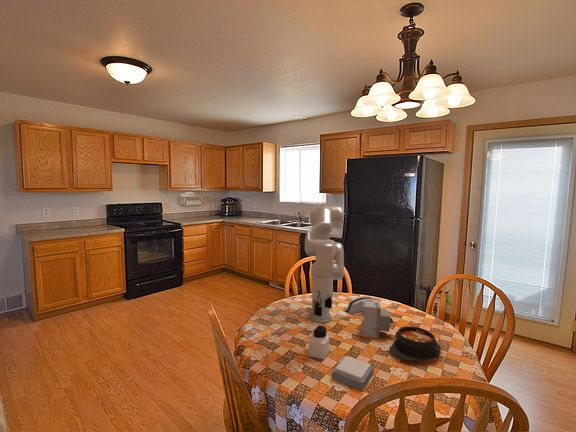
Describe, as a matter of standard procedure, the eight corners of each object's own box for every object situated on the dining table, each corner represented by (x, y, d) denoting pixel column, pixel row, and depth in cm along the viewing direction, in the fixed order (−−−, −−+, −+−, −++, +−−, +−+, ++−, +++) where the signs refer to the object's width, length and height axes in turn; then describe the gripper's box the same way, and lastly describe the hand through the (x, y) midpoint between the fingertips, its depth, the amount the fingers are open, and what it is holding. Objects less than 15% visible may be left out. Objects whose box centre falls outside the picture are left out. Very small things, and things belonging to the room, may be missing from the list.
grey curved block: (367, 306, 182) (371, 293, 178) (371, 311, 178) (376, 298, 174) (344, 310, 175) (348, 297, 171) (348, 316, 171) (352, 302, 167)
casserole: (414, 335, 146) (415, 319, 146) (451, 354, 131) (453, 335, 130) (378, 349, 133) (379, 331, 132) (415, 372, 118) (417, 351, 117)
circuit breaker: (392, 339, 142) (394, 309, 141) (361, 336, 145) (363, 306, 144) (390, 332, 150) (392, 303, 148) (361, 329, 153) (362, 300, 151)
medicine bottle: (329, 351, 131) (329, 325, 130) (324, 360, 125) (324, 332, 124) (313, 347, 134) (314, 322, 133) (307, 356, 128) (308, 329, 126)
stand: (331, 378, 113) (332, 368, 112) (344, 363, 123) (344, 353, 122) (362, 390, 106) (363, 380, 106) (373, 373, 116) (374, 363, 116)
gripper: (325, 266, 135) (324, 303, 137) (306, 275, 121) (305, 316, 122) (340, 269, 131) (339, 307, 133) (323, 278, 117) (322, 320, 118)
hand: (323, 311), depth 128 cm, fingers open, 9 cm apart
